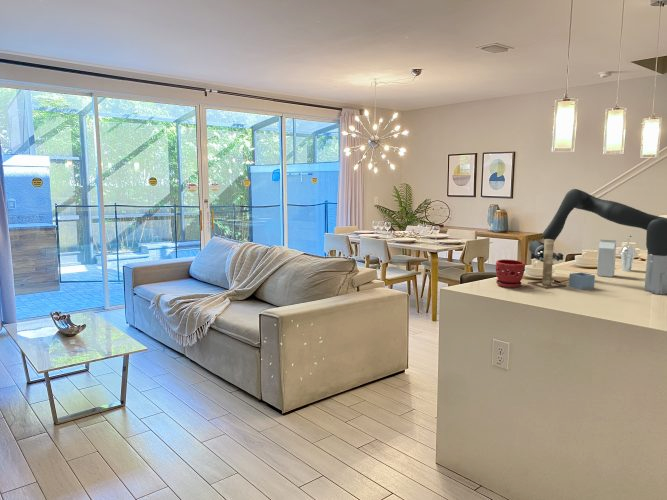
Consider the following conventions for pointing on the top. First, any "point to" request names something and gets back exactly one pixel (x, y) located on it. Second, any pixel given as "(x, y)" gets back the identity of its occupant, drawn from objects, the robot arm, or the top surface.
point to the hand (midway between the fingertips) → (548, 258)
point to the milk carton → (606, 258)
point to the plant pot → (509, 273)
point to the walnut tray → (547, 286)
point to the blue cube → (581, 281)
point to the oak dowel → (547, 262)
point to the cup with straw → (627, 257)
